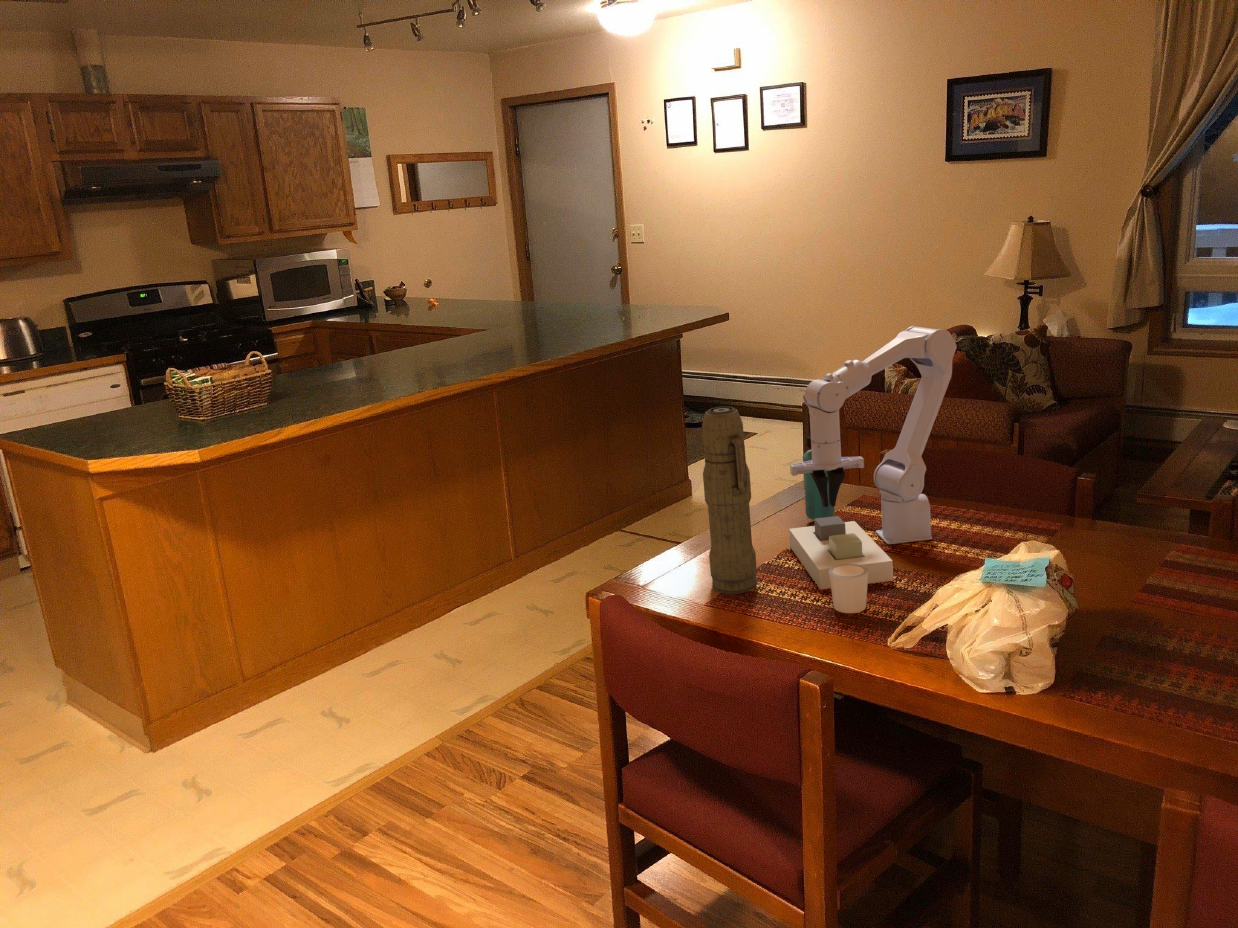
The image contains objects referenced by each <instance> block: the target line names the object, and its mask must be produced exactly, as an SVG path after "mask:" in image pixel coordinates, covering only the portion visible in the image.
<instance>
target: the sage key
mask: <svg viewBox="0 0 1238 928" xmlns="http://www.w3.org/2000/svg"><path fill="white" fill-rule="evenodd" d="M829 550H830V552H831V553H832V554H833V555H834V557H835V558H836V559H844V558H852V557H861V556H862V541H861V540H860V539H859V538H858V537H857V536H856V535H855V533H850V534H842V535H833V536H829Z"/></svg>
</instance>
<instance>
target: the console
mask: <svg viewBox="0 0 1238 928" xmlns="http://www.w3.org/2000/svg"><path fill="white" fill-rule="evenodd" d="M843 522H844V523H845V530H846V534H850V533H855V535H856V536H857V537H858V538H859V539H860V540H861V541H862V556H861V557H852V558H844V559H836V558H835V557H834V555H833V554H832V553H831V552H830V550H829V540H821V539H820V538H819V537H818V536H817V534H816V533H815V525H810V526H802V527H793V528H789V529H788V533H789V535H788V536H789V547H790V548H791V550H792V552H793V553H794V554H795V556H796V558H797V559H798V560H799V562H800V563H801V564H802V566H803V567H804V569H805V570H806V572H807V573H808V575H809V576H810V578H812V579H811V580H813V582H814V581H815V582H814V583H815V585H816V584H817V585H816V586H817V587H818V589H819V590H828V589H831V584H830V577H829V569H830V568H831V567H834V566H836V565H841V564H857V565H861V566H864V567H866V568H867V569H868V582H867V585H868V584H876V583H877V584H878V583H884V582H886V583H887V582H893V581H894V566H893V565H894V563H893V562H894V561H893V559H892V558H890V556H889V555H888V554H887V553H886V552H885V551H884V550H883V549H882V548H881V547H880V546H879V544H877V543H876V541H874V539H872V538H871V536H869V534H868V533H867V532H866V531H865V530H864V529H863V528H862V527H861V526H860V525H859V524H858V523H857V522H856V521H855V520H853V521H843Z"/></svg>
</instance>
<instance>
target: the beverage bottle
mask: <svg viewBox="0 0 1238 928" xmlns="http://www.w3.org/2000/svg"><path fill="white" fill-rule="evenodd" d="M805 444H806V447H807V448H811V435H807V437H806V443H805ZM810 460H812V448H811V449H809V450H807V451H806V452H805V453H804V454H803V455H802V462H805V461H810ZM824 473H826V476H827V471H824ZM827 477H828V476H827ZM803 486H804V487H803V490H804V494H803V495H804V503H805V515H806V517H807V518H808V519H809V520H812V521H813V520H814V519H816V518H824V517H833V516H835V513H836V510H835V506H831V505H830V503H829V484H827V494H828V507H824V506H823V505H822V500H821V496H820V493H819V490H818V488H817V486H816V483H815V481H814V480H813V478H812V476H811V474H810V473H806V474H803Z"/></svg>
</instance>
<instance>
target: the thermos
mask: <svg viewBox="0 0 1238 928" xmlns="http://www.w3.org/2000/svg"><path fill="white" fill-rule="evenodd" d="M701 428H702V440H703V442H702V443H703V452H704V455H705V458H704V467H703V472H702V481H703V492H704V502H705V503H706V506H707V511H708V523H709V534H710V549H709V553H708V558H709V559H708V560H709V569H710V571H709V572H710V577H711V578H712V579H711V580H712V581H711V582H712V585H711V586H712V589H713V591H715V592H717V593H720V594H724V595H740V594H743V593H744V592H745V593H748V592H751V591H753V590H754V589H756V588H757V586H758V582H757V573H758V568H757V557H756V556H757V555H756V554H757V553H756V549H755V548H754V545H753V538H752V524H751V523H752V522H751V508H750V502H751V499H752V490H751V489H752V488H751V472H750V469H749V467H748V464H747V459H746V445H745V436H744V435H745V434H744V423H743V420H742V418H741V415H740V413H739V411H738V409H736V408H734V407H733V406H716V407H712V408H710V409H708V410H707V411H705V412H704V416H703V420H702V426H701ZM756 585H757V586H756ZM755 587H756V588H755ZM752 589H753V590H752ZM750 590H751V591H750Z"/></svg>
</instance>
